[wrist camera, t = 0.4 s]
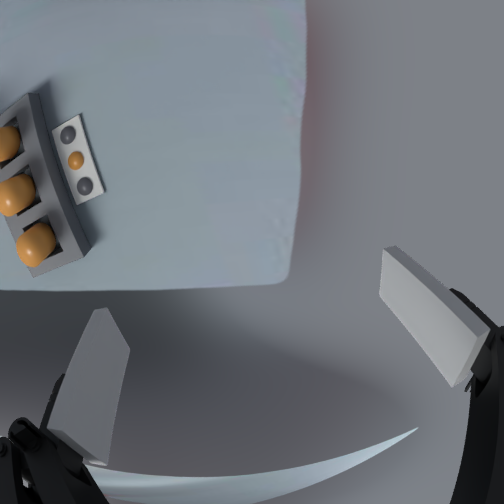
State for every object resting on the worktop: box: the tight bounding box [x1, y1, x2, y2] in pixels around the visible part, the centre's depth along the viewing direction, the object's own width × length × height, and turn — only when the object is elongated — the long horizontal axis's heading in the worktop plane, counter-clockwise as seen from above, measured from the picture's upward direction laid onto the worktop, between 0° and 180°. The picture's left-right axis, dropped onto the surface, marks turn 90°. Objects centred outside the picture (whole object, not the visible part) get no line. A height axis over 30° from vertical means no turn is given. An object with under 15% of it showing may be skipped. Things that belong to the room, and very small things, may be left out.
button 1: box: [16, 222, 56, 267], centre depth 30 cm, size 5×5×4 cm
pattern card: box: [52, 115, 105, 205], centre depth 31 cm, size 12×5×1 cm, turn 15°
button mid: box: [0, 174, 36, 217], centre depth 27 cm, size 5×5×4 cm
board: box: [0, 93, 91, 278], centre depth 30 cm, size 26×12×3 cm, turn 15°
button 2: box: [0, 126, 21, 162], centre depth 23 cm, size 5×5×4 cm
